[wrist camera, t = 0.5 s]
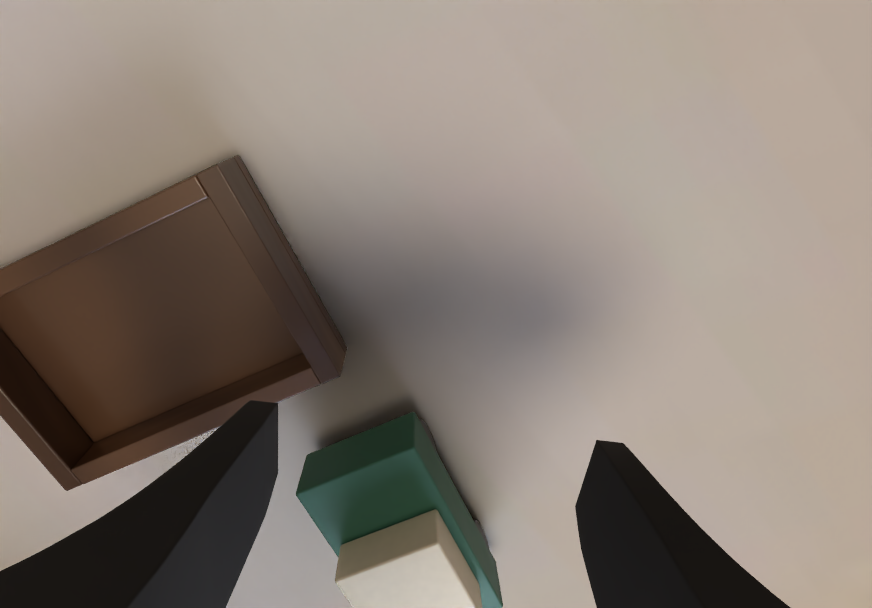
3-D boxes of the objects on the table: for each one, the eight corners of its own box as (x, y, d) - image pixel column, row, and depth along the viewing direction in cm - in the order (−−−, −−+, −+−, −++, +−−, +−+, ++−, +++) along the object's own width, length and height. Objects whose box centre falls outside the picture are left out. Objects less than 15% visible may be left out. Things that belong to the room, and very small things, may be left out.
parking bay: (97, 455, 25) (65, 492, 22) (-39, 289, 22) (-91, 312, 19) (348, 347, 23) (340, 376, 21) (238, 154, 20) (217, 163, 18)
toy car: (493, 546, 27) (510, 647, 22) (398, 581, 28) (395, 686, 23) (414, 398, 24) (414, 478, 19) (309, 441, 25) (284, 529, 20)
